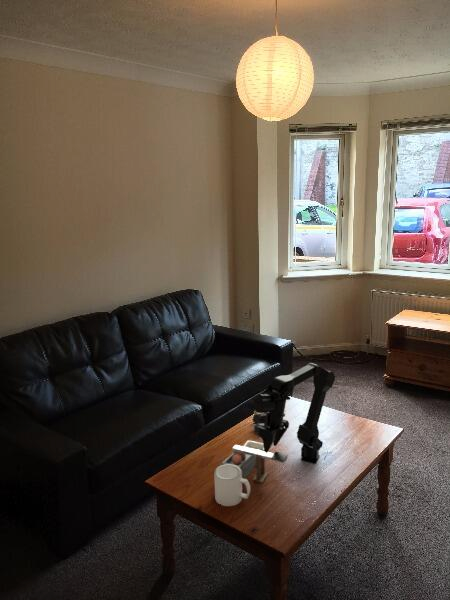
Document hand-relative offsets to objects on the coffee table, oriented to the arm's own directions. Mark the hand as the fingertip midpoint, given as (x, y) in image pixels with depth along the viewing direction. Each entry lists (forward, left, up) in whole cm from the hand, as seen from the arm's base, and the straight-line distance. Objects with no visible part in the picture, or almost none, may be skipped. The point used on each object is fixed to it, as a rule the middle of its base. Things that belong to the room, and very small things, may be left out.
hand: (270, 449), depth 185 cm
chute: (+13, 0, -13) cm, 18 cm away
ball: (+13, +3, -6) cm, 14 cm away
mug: (+9, +17, -13) cm, 24 cm away
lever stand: (+4, +1, -13) cm, 14 cm away
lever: (+4, +1, -7) cm, 9 cm away
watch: (+18, -35, -13) cm, 41 cm away
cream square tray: (+13, -13, -13) cm, 23 cm away
